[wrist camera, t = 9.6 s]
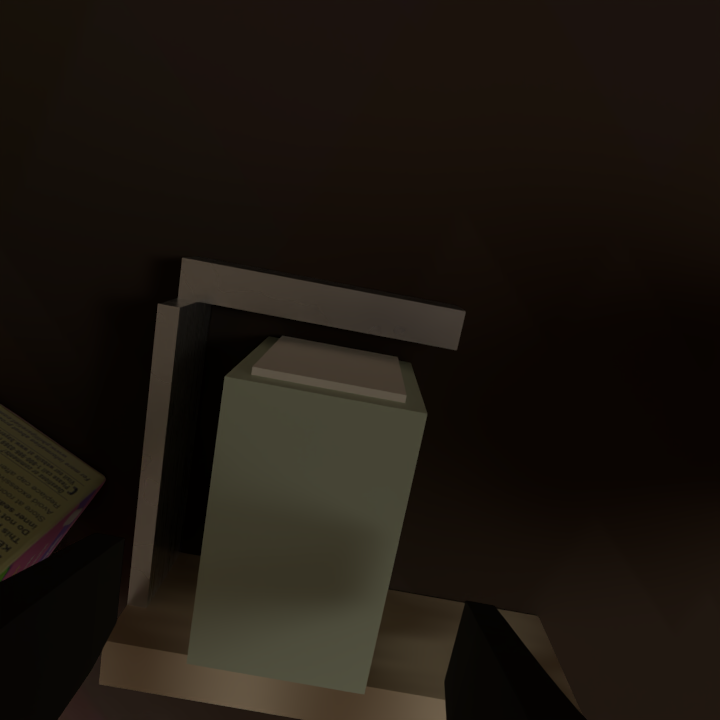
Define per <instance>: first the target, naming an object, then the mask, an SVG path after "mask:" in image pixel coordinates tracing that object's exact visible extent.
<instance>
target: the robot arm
mask: <svg viewBox="0 0 720 720" xmlns="http://www.w3.org/2000/svg"><path fill="white" fill-rule="evenodd" d="M124 541H125V538H121V537H115V536H110V535H104V534H99V533H95V534H92V535H90V536H88V537H86V538H84V539H82V540H80V541H78V542H76V543H74V544H72V545H70V546H68V547H67V548H65V549H63V550H61V551H59V552H57V553H55V554H53V555H51V556H49V557H48V558H46V559H44V560H42V561H40V562H38V563H36V564H34V565H32V566H30V567H28V568H26V569H24V570H22V571H20V572H19V573H17V574H15V575H13V576H11V577H9V578H7V579H5V580H3V581H1V582H0V720H58V718H59V717H60V715H61V714H62V712H63V711H64V709H65V708H66V706H67V705H68V704H69V702H70V701H71V699H72V698H73V696H74V695H75V693H76V692H77V690H78V689H79V688H80V686H81V685H82V683H83V682H84V680H85V679H86V677H87V676H88V674H89V673H90V671H91V669H92V668H93V666H94V664H95V662H96V660H97V659H98V657H99V655H100V653H101V651H102V649H103V648H104V646H105V644H106V642H107V640H108V638H109V636H110V634H111V632H112V630H113V628H114V627H115V625H116V623H117V613H118V603H119V592H120V582H121V572H122V561H123V551H124ZM444 689H445V706H446V720H587V719H586V718H585V717H584V716H583V715H582V714H581V713H580V712H579V711H578V709H577V708H576V707H575V706H574V705H573V704H572V702H571V701H570V700H569V699H568V698H567V697H566V695H565V694H564V693H563V692H562V691H561V689H560V688H559V687H558V686H557V685H556V683H555V682H554V681H553V680H552V678H551V677H550V676H549V675H548V674H547V672H546V671H545V670H544V669H543V667H542V666H541V665H540V664H539V662H538V661H537V660H536V658H535V657H534V656H533V655H532V653H531V652H530V651H529V649H528V648H527V647H526V646H525V644H524V643H523V642H522V640H521V639H520V638H519V637H518V635H517V634H516V633H515V631H514V630H513V629H512V627H511V626H510V625H509V623H508V622H507V621H506V620H505V618H504V617H503V616H502V615H501V613H500V612H499V611H498V610H497V608H496V607H495V606H493V605H487V604H482V603H476V602H471V601H465V605H464V609H463V613H462V616H461V620H460V624H459V628H458V631H457V635H456V639H455V643H454V646H453V650H452V654H451V658H450V661H449V665H448V669H447V673H446V676H445V680H444Z"/></svg>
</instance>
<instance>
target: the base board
mask: <svg viewBox="0 0 720 720" xmlns="http://www.w3.org/2000/svg"><path fill="white" fill-rule="evenodd" d="M200 558H201V556H198V555H193V554H187V553H182V552H181V553H180V554H179V556H178V558H177V559H176V561H175V562H174V564H173V566H172V567H171V569H170V571H169V572H168V574H167V575H166V577H165V579H164V580H163V582H162V584H161V585H160V587H159V588H158V590H157V592H156V593H155V595H154V597H153V598H152V600H151V601H150V603H149V605H148V606H147V608H144V607H138V606H132V605H127V606H126V607H125V609H124V610H123V612H122V613H121V615H120V616H119V618H118V619H117V623H116V625H115V627H114V628H113V630H112V632H111V634H110V636H109V638H108V640H107V642H106V644H105V646H104V648H103V649H102V658H101V669H100V680H99V684H101V685H106V686H112V687H118V688H124V689H129V690H135V691H141V692H147V693H153V694H158V695H164V696H170V697H176V698H182V699H187V700H193V701H199V702H205V703H211V704H216V705H222V706H228V707H234V708H240V709H245V710H251V711H257V712H263V713H269V714H274V715H280V716H286V717H292V718H297V719H303V720H446V706H445V689H444V680H445V676H446V673H447V669H448V665H449V661H450V658H451V654H452V650H453V646H454V643H455V639H456V635H457V631H458V628H459V624H460V620H461V616H462V613H463V609H464V605H465V603H462V602H456V601H451V600H445V599H440V598H434V597H428V596H423V595H417V594H412V593H406V592H400V591H395V590H389V589H388V592H387V596H386V600H385V605H384V609H383V614H382V618H381V623H380V627H379V632H378V636H377V640H376V645H375V649H374V654H373V658H372V663H371V667H370V672H369V676H368V680H367V685H366V689H365V694H358V693H352V692H346V691H341V690H335V689H329V688H323V687H318V686H312V685H306V684H300V683H294V682H289V681H283V680H277V679H271V678H266V677H260V676H254V675H248V674H243V673H237V672H231V671H225V670H220V669H214V668H208V667H202V666H197V665H191V664H186V663H187V655H188V648H189V640H190V633H191V625H192V618H193V610H194V603H195V595H196V588H197V580H198V573H199V565H200ZM497 610H498V611H499V612H500V613H501V615H502V616H503V617H504V618H505V620H506V621H507V622H508V623H509V625H510V626H511V627H512V629H513V630H514V631H515V633H516V634H517V635H518V637H519V638H520V639H521V640H522V642H523V643H524V644H525V646H526V647H527V648H528V649H529V651H530V652H531V653H532V655H533V656H534V657H535V658H536V660H537V661H538V662H539V664H540V665H541V666H542V667H543V669H544V670H545V671H546V672H547V674H548V675H549V676H550V677H551V678H552V680H553V681H554V682H555V683H556V685H557V686H558V687H559V688H560V689H561V691H562V692H563V693H564V694H565V695H566V697H567V698H568V699H569V700H570V701H571V702H572V704H573V705H574V706H575V707H576V708H577V709H578V711H579V712H580V713H581V711H580V709H579V706H578V704H577V702H576V700H575V697H574V695H573V693H572V691H571V688H570V686H569V684H568V682H567V680H566V677H565V675H564V673H563V671H562V668H561V666H560V664H559V662H558V659H557V657H556V655H555V653H554V650H553V648H552V646H551V644H550V642H549V639H548V637H547V635H546V633H545V630H544V628H543V626H542V624H541V621H540V619H539V617H538V616H535V615H529V614H524V613H518V612H513V611H507V610H501V609H497ZM581 714H582V713H581Z"/></svg>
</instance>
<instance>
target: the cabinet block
mask: <svg viewBox="0 0 720 720" xmlns="http://www.w3.org/2000/svg"><path fill="white" fill-rule="evenodd" d="M426 418H427V411H426V408H425V405H424V402H423V399H422V396H421V393H420V390H419V387H418V384H417V381H416V377H415V374H414V371H413V368H412V365H411V363H409V362H404V361H399V360H398V357H395V356H390V355H384V354H379V353H374V352H368V351H363V350H358V349H352V348H347V347H341V346H336V345H331V344H325V343H320V342H315V341H309V340H304V339H299V338H293V337H288V336H283V335H282V337H281V338H275V337H270V336H269V337H268V338H266V339H265V340H264V341H263V342H262V343H261V344H260V345H259V346H258V347H257V348H255V349H254V350H253V351H252V352H251V353H250V354H249V355H248V356H247V357H246V358H244V359H243V360H242V361H241V362H240V363H239V364H238V365H237V366H236V367H234V368H233V369H232V370H231V371H230V372H229V373H228V374H227V375H226V376H225V377H224V385H223V392H222V400H221V407H220V415H219V423H218V430H217V438H216V445H215V453H214V460H213V468H212V475H211V483H210V490H209V498H208V505H207V513H206V520H205V528H204V535H203V543H202V550H201V558H200V565H199V573H198V580H197V588H196V595H195V603H194V610H193V618H192V625H191V633H190V640H189V648H188V655H187V663H186V664H191V665H197V666H202V667H208V668H214V669H220V670H225V671H231V672H237V673H243V674H248V675H254V676H260V677H266V678H271V679H277V680H283V681H289V682H294V683H300V684H306V685H312V686H318V687H323V688H329V689H335V690H341V691H346V692H352V693H358V694H365V689H366V685H367V680H368V676H369V672H370V667H371V663H372V658H373V654H374V649H375V645H376V640H377V636H378V632H379V627H380V623H381V618H382V614H383V609H384V605H385V600H386V596H387V592H388V587H389V583H390V578H391V574H392V569H393V565H394V560H395V556H396V552H397V547H398V543H399V538H400V534H401V529H402V525H403V520H404V516H405V512H406V507H407V503H408V498H409V494H410V489H411V485H412V480H413V476H414V472H415V467H416V463H417V458H418V454H419V449H420V445H421V440H422V436H423V432H424V427H425V423H426Z"/></svg>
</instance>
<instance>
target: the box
mask: <svg viewBox="0 0 720 720" xmlns="http://www.w3.org/2000/svg"><path fill="white" fill-rule="evenodd" d="M105 481H106V478H105V476H104V475H103V474H101V473H100V472H98V471H97V470H95V469H94V468H92V467H91V466H89V465H88V464H87V463H85V462H84V461H82V460H81V459H79V458H78V457H77V456H75V455H74V454H72V453H71V452H70V451H68V450H67V449H65V448H64V447H62V446H61V445H60V444H58V443H57V442H55V441H54V440H52V439H51V438H50V437H48V436H47V435H45V434H44V433H43V432H41V431H40V430H38V429H37V428H35V427H34V426H33V425H31V424H30V423H28V422H27V421H25V420H24V419H23V418H21V417H20V416H18V415H17V414H15V413H14V412H12V411H11V410H10V409H8V408H6V407H5V406H3V405H2V404H0V582H1V581H3V580H5V579H7V578H9V577H11V576H13V575H15V574H17V573H19V572H20V571H22V570H24V569H26V568H28V567H30V566H32V565H34V564H36V563H38V562H40V561H42V560H44V559H46V558H48V557H49V556H50V554H51V553H52V552H53V550H54V549H55V548H56V546H57V545H58V544H59V542H60V541H61V540H62V538H63V537H64V536H65V534H66V533H67V532H68V530H69V529H70V528H71V526H72V525H73V524H74V523H75V521H76V520H77V519H78V517H79V516H80V515H81V513H82V512H83V511H84V510H85V508H86V507H87V506H88V504H89V503H90V502H91V500H92V499H93V498H94V496H95V495H96V494H97V492H98V491H99V490H100V488H101V487H102V486H103V484H104V483H105Z"/></svg>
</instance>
